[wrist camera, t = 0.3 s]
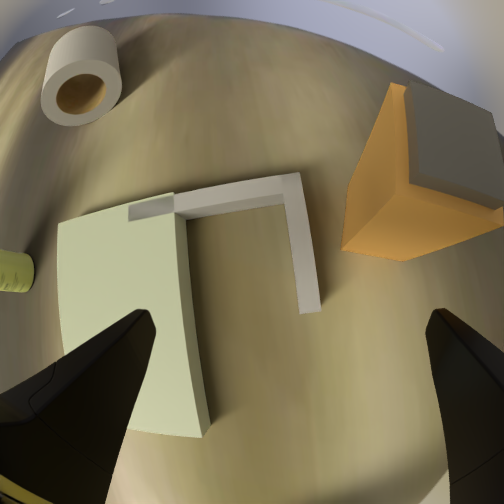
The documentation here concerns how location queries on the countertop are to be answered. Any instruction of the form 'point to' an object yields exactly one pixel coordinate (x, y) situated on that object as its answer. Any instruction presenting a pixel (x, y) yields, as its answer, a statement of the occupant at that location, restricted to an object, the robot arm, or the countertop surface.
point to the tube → (15, 271)
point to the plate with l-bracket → (164, 285)
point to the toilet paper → (81, 77)
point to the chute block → (424, 176)
